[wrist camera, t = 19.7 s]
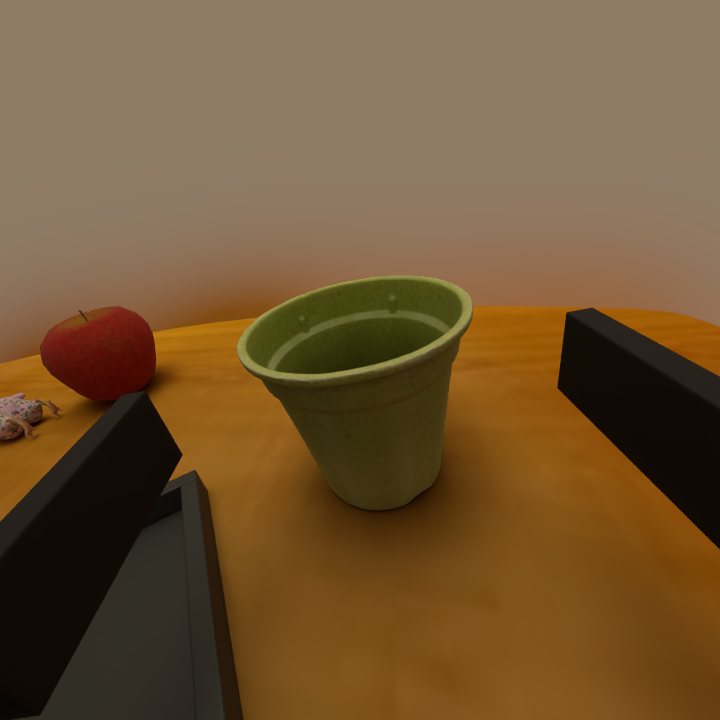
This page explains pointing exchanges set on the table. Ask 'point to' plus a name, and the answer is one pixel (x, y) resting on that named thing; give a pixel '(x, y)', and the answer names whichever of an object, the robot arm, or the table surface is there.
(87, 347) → the apple
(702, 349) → the table surface
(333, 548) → the table surface
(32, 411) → the pink toy figurine
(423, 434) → the plant pot
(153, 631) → the drip tray
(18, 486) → the table surface
